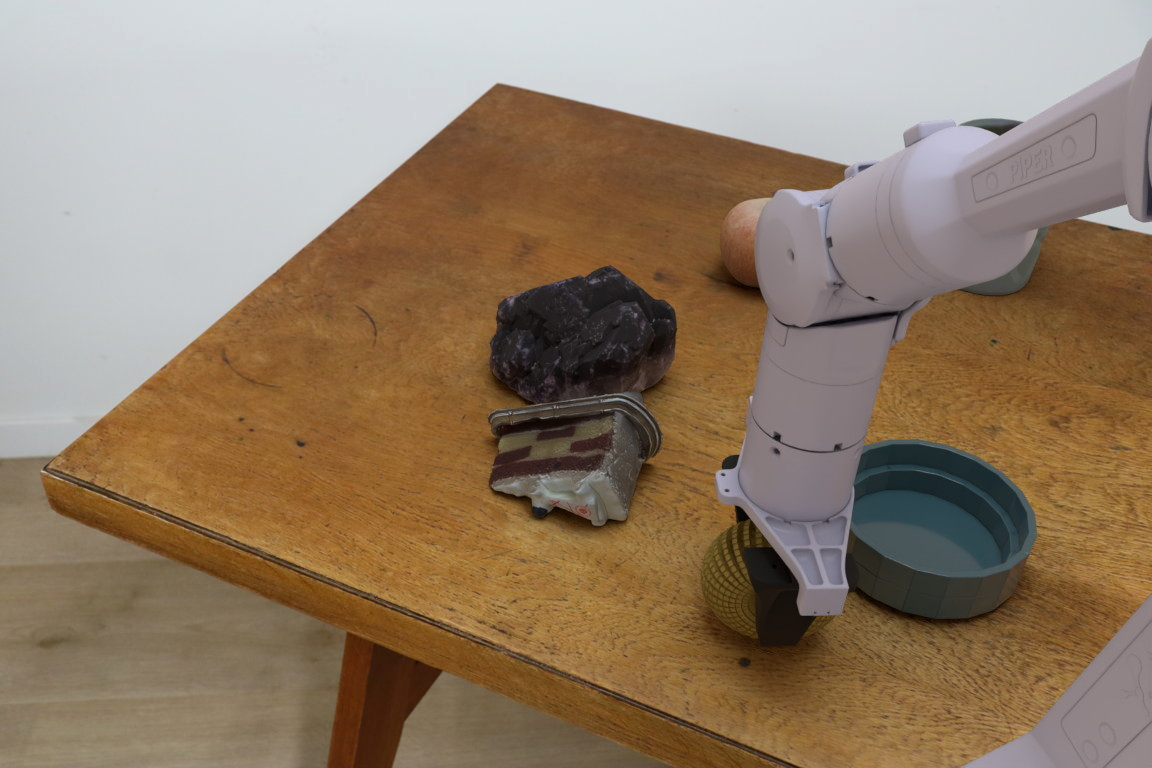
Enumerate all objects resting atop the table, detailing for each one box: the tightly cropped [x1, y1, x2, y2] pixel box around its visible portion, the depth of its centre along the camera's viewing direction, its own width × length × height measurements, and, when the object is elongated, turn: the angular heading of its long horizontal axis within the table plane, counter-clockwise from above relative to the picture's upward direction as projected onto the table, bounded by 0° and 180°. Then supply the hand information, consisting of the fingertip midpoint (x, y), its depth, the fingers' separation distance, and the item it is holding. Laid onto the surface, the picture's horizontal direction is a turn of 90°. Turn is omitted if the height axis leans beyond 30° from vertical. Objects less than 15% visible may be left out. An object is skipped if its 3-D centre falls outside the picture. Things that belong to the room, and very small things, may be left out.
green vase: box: [957, 117, 1050, 296], centre depth 94 cm, size 10×10×12 cm
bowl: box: [846, 438, 1038, 620], centre depth 68 cm, size 12×12×4 cm
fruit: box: [719, 190, 777, 288], centre depth 92 cm, size 8×7×8 cm
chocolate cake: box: [486, 391, 664, 527], centre depth 71 cm, size 10×7×12 cm
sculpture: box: [699, 519, 836, 640], centre depth 61 cm, size 8×4×8 cm, turn 81°
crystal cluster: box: [489, 264, 678, 404], centre depth 80 cm, size 13×14×10 cm
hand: (767, 603), depth 62 cm, fingers closed on sculpture, 5 cm apart
